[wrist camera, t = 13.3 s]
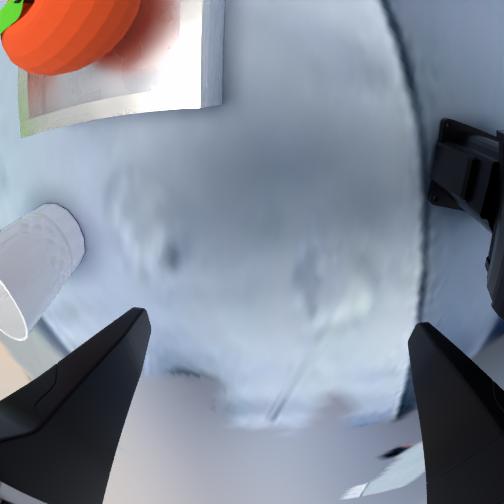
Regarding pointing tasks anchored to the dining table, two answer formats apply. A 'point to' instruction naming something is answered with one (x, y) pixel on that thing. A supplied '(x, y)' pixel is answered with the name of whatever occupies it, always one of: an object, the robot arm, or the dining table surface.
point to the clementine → (63, 32)
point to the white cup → (35, 265)
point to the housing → (136, 70)
